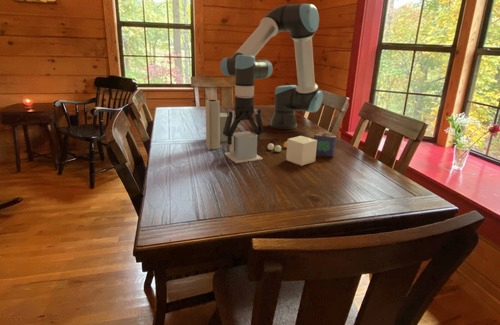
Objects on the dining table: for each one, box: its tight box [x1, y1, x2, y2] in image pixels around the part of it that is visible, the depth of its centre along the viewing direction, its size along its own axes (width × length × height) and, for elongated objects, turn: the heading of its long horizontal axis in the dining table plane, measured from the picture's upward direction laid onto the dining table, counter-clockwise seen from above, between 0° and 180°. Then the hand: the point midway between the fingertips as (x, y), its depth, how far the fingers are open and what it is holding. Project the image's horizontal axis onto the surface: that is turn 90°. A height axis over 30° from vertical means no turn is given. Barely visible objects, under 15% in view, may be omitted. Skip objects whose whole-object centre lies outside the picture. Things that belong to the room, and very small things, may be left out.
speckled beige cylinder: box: [220, 112, 235, 143], centre depth 159 cm, size 10×10×12 cm
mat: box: [224, 151, 263, 164], centre depth 138 cm, size 12×12×1 cm
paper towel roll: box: [205, 99, 221, 151], centre depth 144 cm, size 7×6×21 cm
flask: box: [313, 131, 337, 158], centre depth 140 cm, size 9×3×11 cm, turn 74°
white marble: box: [267, 142, 275, 151], centre depth 147 cm, size 3×3×3 cm
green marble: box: [274, 144, 282, 153], centre depth 145 cm, size 3×3×3 cm
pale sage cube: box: [229, 130, 258, 160], centre depth 136 cm, size 8×8×9 cm
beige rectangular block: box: [285, 135, 317, 167], centre depth 134 cm, size 8×8×9 cm
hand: (243, 150), depth 137 cm, fingers open, 10 cm apart
